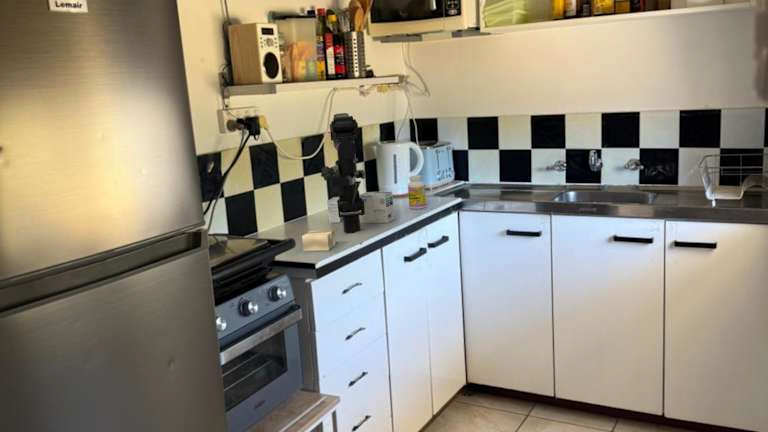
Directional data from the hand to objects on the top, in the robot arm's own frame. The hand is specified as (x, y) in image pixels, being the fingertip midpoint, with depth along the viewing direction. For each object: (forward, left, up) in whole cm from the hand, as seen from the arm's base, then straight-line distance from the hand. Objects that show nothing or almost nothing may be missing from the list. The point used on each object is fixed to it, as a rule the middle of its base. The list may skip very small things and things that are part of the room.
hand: (351, 204), depth 231 cm
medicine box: (-38, -16, -12) cm, 43 cm away
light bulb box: (-33, +1, -12) cm, 35 cm away
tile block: (+9, -8, -9) cm, 15 cm away
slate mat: (+11, -8, -12) cm, 18 cm away
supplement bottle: (-58, +12, -12) cm, 60 cm away
